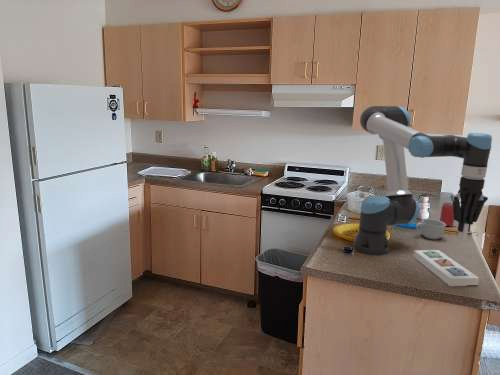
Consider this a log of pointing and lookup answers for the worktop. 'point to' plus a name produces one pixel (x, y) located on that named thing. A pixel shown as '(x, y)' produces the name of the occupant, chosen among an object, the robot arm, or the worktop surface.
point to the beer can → (447, 214)
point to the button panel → (446, 269)
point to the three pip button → (444, 262)
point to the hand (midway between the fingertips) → (461, 239)
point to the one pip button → (433, 254)
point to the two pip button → (456, 271)
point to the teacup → (431, 228)
